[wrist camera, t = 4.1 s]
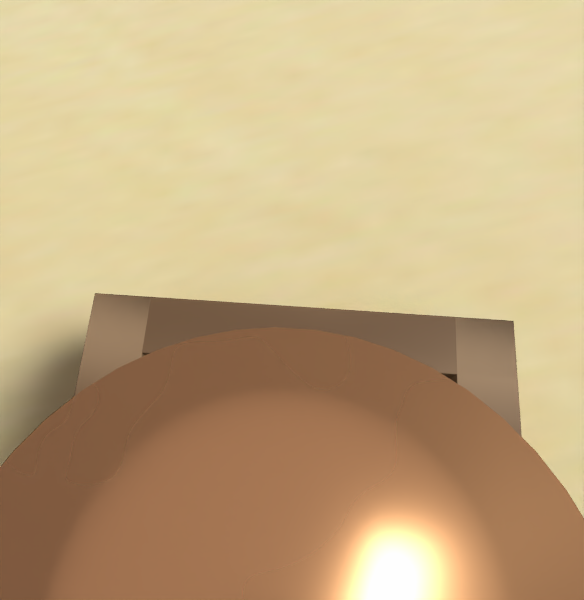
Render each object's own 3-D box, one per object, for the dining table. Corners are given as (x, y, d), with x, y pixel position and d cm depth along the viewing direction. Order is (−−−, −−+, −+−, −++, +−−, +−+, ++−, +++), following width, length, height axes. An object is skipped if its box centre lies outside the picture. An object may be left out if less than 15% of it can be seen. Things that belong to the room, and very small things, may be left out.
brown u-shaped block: (481, 636, 14) (538, 685, 11) (85, 604, 14) (24, 642, 11) (469, 351, 17) (513, 321, 13) (133, 328, 17) (95, 293, 14)
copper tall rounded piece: (287, 658, 14) (261, 1639, 2) (172, 522, 15) (-260, 690, 3) (404, 522, 15) (804, 691, 3) (288, 405, 16) (276, 213, 4)
